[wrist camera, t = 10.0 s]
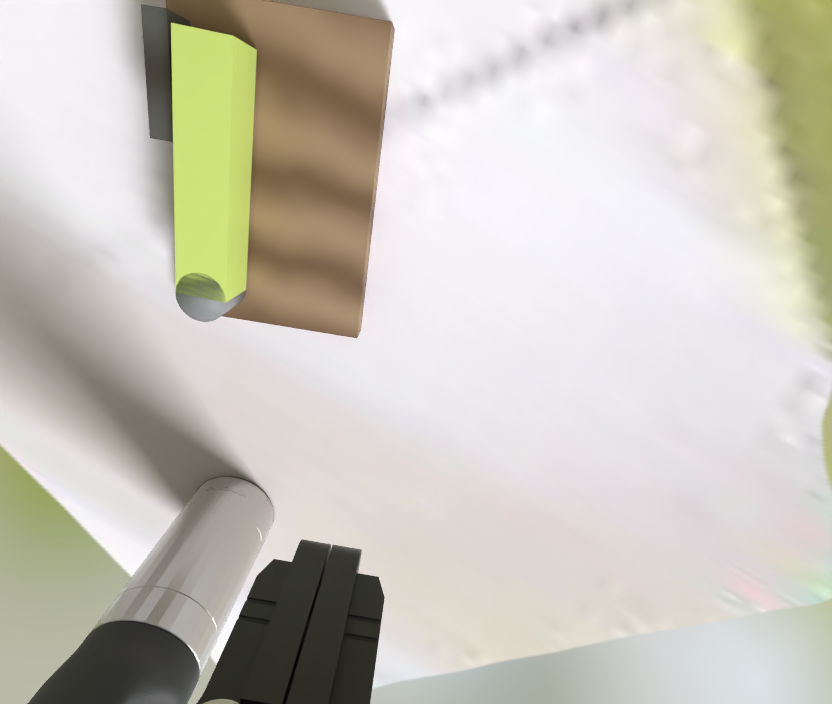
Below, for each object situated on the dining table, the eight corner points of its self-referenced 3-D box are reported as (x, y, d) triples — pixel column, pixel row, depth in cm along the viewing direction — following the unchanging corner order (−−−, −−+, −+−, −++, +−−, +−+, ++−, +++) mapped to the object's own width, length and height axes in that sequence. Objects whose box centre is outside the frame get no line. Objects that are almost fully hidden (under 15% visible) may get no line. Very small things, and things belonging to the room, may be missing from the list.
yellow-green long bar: (245, 311, 41) (225, 326, 37) (200, 302, 40) (175, 316, 37) (257, 50, 33) (233, 35, 29) (201, 38, 33) (170, 22, 29)
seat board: (360, 330, 43) (350, 350, 38) (192, 303, 43) (162, 319, 38) (394, 29, 34) (386, 8, 29) (180, -7, 34) (138, -34, 29)
